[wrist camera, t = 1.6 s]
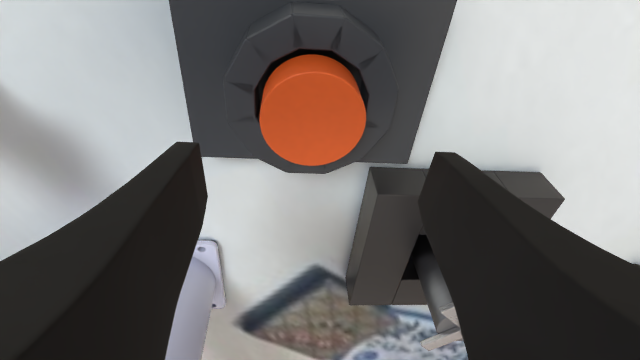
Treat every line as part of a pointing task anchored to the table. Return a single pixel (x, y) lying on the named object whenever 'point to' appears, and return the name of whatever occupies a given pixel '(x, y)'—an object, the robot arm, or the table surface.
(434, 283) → the blade
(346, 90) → the button
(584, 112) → the table surface
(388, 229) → the blender base
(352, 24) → the control block
